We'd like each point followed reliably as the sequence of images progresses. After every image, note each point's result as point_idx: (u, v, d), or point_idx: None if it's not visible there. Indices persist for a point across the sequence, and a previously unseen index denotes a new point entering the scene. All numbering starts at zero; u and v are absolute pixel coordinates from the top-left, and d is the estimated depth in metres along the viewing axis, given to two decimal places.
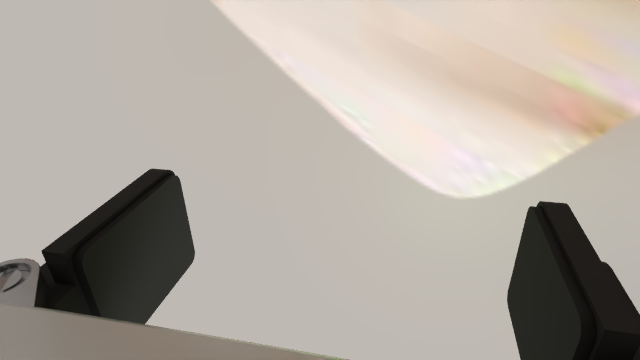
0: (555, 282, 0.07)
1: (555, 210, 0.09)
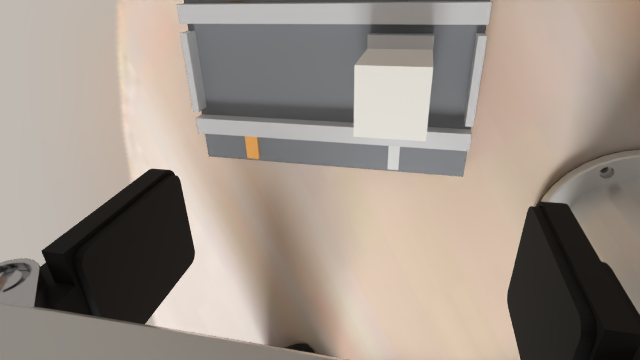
0: (555, 282, 0.07)
1: (555, 210, 0.09)
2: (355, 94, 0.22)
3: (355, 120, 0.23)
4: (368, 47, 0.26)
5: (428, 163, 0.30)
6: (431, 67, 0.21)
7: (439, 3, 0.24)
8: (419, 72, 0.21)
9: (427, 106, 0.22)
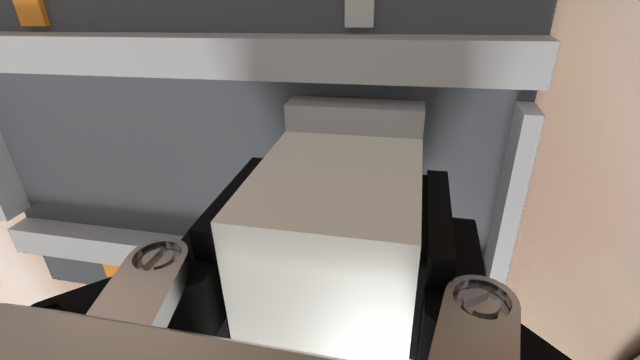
0: None
1: (434, 176, 0.10)
2: (224, 285, 0.09)
3: (234, 334, 0.09)
4: (288, 129, 0.12)
5: None
6: (416, 245, 0.07)
7: (436, 41, 0.11)
8: (381, 253, 0.07)
9: (407, 329, 0.08)
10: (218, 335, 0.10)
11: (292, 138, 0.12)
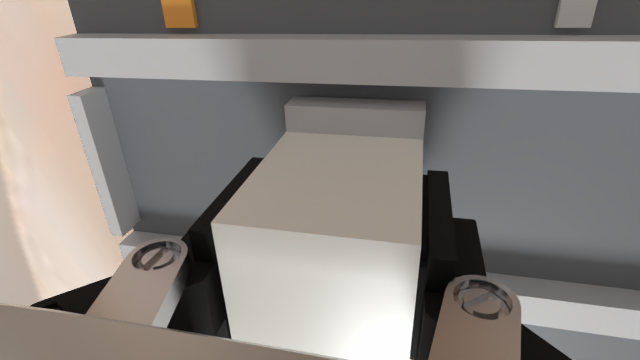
0: None
1: (435, 176, 0.10)
2: (224, 285, 0.09)
3: (234, 334, 0.09)
4: (288, 129, 0.12)
5: (570, 342, 0.15)
6: (416, 245, 0.07)
7: None
8: (381, 253, 0.07)
9: (407, 329, 0.08)
10: (218, 335, 0.10)
11: (292, 138, 0.12)
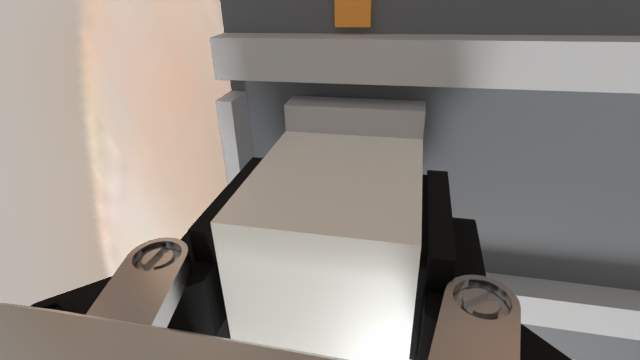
0: None
1: (434, 176, 0.10)
2: (223, 284, 0.09)
3: (234, 334, 0.09)
4: (288, 129, 0.12)
5: None
6: (416, 245, 0.07)
7: None
8: (381, 253, 0.07)
9: (407, 329, 0.08)
10: (218, 335, 0.10)
11: (292, 138, 0.12)
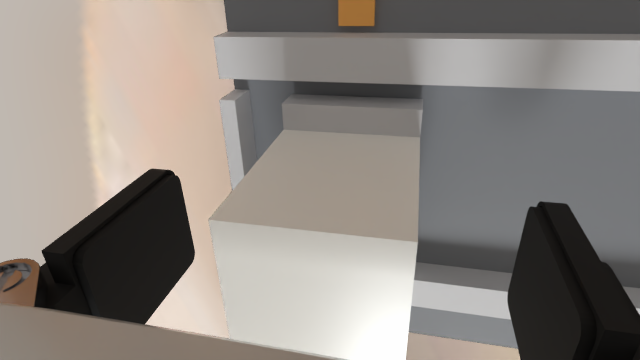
0: (555, 282, 0.07)
1: (555, 210, 0.09)
2: (221, 281, 0.09)
3: (232, 331, 0.09)
4: (286, 127, 0.12)
5: None
6: (412, 242, 0.07)
7: None
8: (378, 250, 0.07)
9: (404, 325, 0.08)
10: None
11: (290, 136, 0.12)
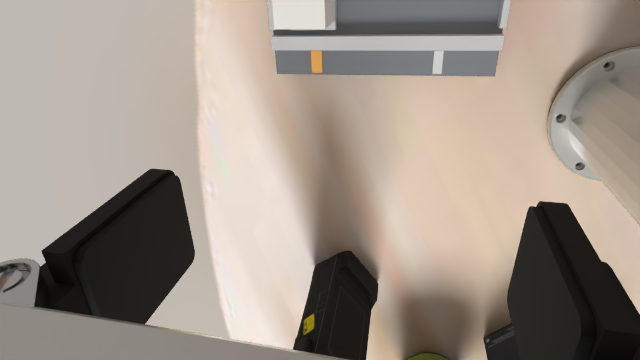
0: (555, 282, 0.07)
1: (555, 210, 0.09)
2: None
3: (274, 15, 0.31)
4: None
5: (466, 66, 0.36)
6: None
7: None
8: None
9: (323, 0, 0.30)
10: None
11: None
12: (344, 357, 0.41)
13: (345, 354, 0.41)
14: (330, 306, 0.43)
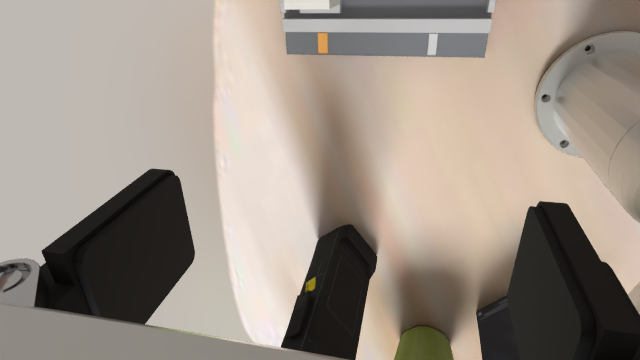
0: (555, 282, 0.07)
1: (555, 210, 0.09)
2: None
3: None
4: None
5: (458, 48, 0.40)
6: None
7: None
8: None
9: None
10: None
11: None
12: (341, 315, 0.44)
13: (342, 312, 0.45)
14: (330, 270, 0.47)
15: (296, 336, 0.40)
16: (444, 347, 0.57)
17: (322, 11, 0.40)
